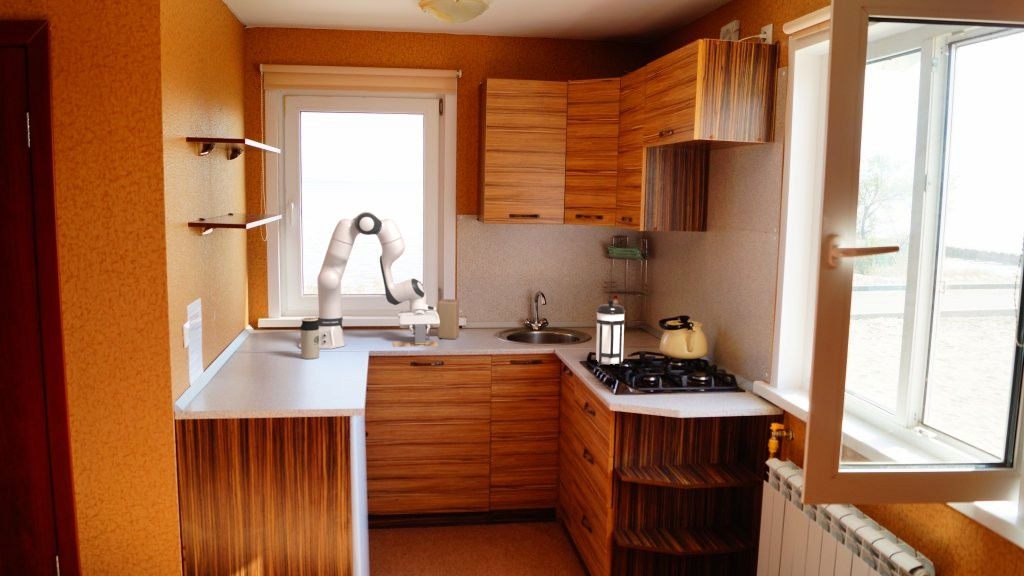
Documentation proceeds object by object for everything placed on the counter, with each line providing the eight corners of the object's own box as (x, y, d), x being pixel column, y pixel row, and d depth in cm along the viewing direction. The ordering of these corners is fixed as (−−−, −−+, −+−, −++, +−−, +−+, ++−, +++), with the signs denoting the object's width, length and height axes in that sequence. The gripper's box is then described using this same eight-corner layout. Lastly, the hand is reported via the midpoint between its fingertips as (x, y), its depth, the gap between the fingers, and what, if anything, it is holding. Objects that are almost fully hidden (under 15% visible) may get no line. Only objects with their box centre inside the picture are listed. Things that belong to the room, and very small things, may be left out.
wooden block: (459, 336, 408) (459, 299, 406) (455, 339, 398) (456, 301, 396) (440, 335, 409) (440, 298, 407) (437, 339, 399) (437, 301, 397)
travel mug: (297, 357, 349) (296, 319, 347) (311, 355, 355) (310, 316, 353) (309, 360, 344) (308, 320, 342) (322, 357, 351) (322, 318, 349)
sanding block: (415, 344, 375) (415, 326, 374) (414, 342, 380) (414, 324, 379) (425, 344, 376) (425, 326, 375) (424, 342, 381) (424, 324, 380)
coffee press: (583, 364, 342) (585, 298, 338) (609, 360, 351) (611, 295, 348) (611, 371, 328) (613, 302, 325) (637, 367, 338) (639, 300, 334)
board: (393, 349, 370) (392, 346, 369) (392, 345, 381) (392, 342, 381) (438, 348, 374) (438, 345, 374) (436, 344, 386) (436, 341, 385)
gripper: (398, 307, 381) (399, 330, 372) (438, 307, 385) (440, 329, 376) (397, 315, 386) (398, 337, 377) (438, 314, 389) (440, 336, 381)
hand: (420, 333), depth 377 cm, fingers closed on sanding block, 5 cm apart
